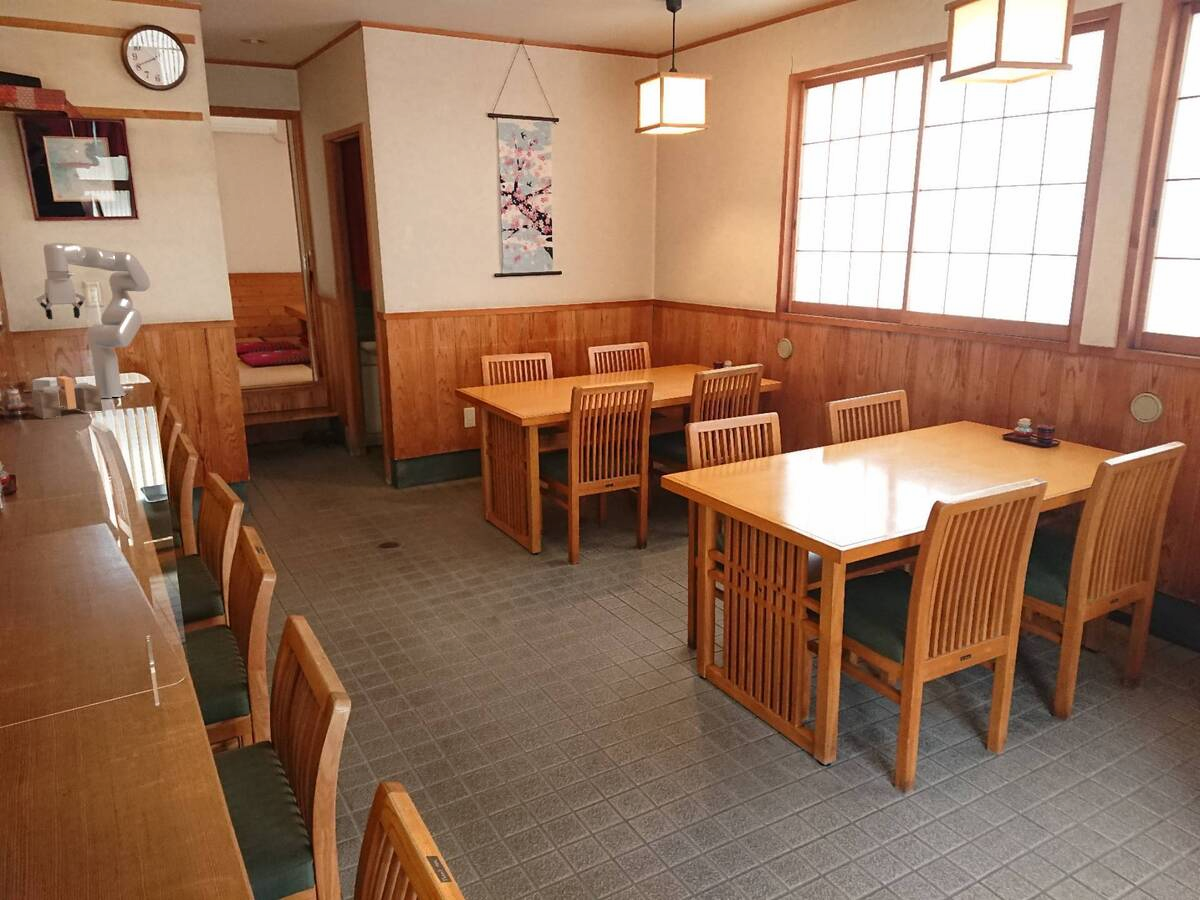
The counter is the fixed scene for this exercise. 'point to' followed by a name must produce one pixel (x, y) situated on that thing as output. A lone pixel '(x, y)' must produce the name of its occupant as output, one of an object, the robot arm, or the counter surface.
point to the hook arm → (59, 387)
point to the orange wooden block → (66, 392)
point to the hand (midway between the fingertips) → (63, 318)
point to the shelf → (49, 401)
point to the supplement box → (44, 383)
